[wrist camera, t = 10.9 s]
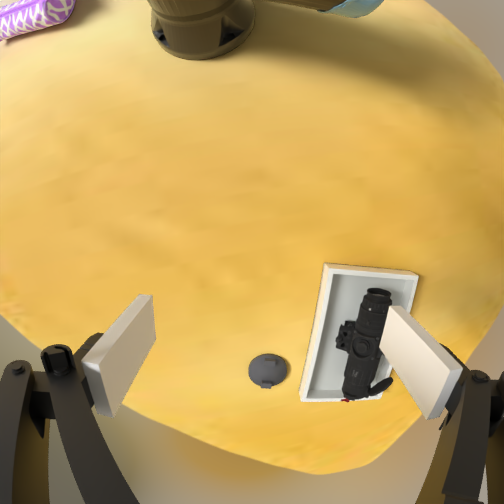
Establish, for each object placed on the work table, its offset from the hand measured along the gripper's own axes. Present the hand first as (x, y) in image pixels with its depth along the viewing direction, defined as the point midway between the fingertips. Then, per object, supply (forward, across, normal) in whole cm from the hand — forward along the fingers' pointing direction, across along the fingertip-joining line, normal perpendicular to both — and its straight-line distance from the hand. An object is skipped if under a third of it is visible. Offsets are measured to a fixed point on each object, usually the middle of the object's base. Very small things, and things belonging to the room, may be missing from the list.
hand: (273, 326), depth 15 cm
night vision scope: (+25, +16, -15) cm, 33 cm away
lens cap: (+25, +2, -21) cm, 33 cm away
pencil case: (+27, -46, +42) cm, 68 cm away
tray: (+25, +16, -15) cm, 33 cm away
